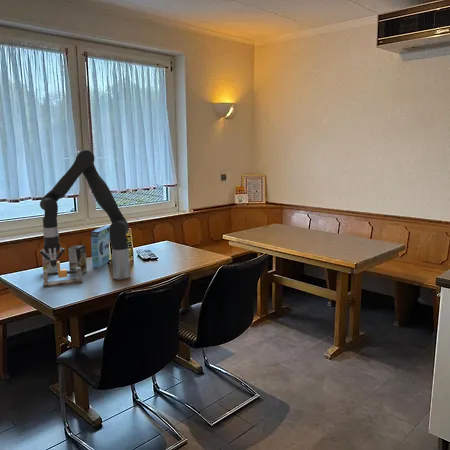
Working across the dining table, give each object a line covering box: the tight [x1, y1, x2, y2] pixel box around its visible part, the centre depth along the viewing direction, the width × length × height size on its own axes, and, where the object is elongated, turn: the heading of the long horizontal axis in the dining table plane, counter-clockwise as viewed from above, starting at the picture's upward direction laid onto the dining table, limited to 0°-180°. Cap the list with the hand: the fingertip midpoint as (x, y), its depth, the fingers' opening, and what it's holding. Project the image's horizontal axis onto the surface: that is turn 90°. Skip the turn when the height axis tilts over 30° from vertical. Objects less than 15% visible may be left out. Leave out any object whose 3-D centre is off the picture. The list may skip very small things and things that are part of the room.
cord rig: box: [42, 267, 83, 288], centre depth 239 cm, size 20×6×8 cm, turn 113°
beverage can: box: [41, 251, 58, 273], centre depth 258 cm, size 9×8×12 cm
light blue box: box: [90, 224, 110, 269], centre depth 276 cm, size 20×5×23 cm, turn 169°
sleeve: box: [57, 260, 68, 279], centre depth 238 cm, size 4×4×8 cm
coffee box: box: [67, 244, 88, 276], centre depth 257 cm, size 9×6×16 cm
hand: (53, 266), depth 236 cm, fingers closed
